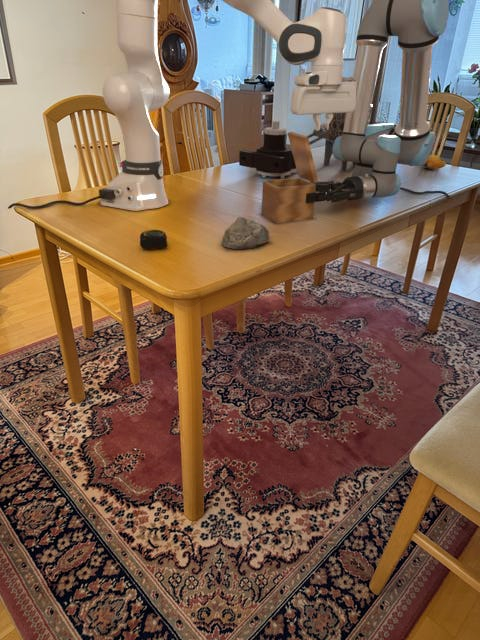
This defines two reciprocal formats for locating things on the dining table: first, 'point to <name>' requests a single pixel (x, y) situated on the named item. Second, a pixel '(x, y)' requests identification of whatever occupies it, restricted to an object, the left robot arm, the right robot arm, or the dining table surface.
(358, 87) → the right robot arm
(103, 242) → the dining table surface
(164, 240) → the tape measure
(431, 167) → the toy
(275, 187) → the chest
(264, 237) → the rock
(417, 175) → the dining table surface
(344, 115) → the planter
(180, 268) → the dining table surface
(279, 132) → the mechanical component
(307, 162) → the lid
